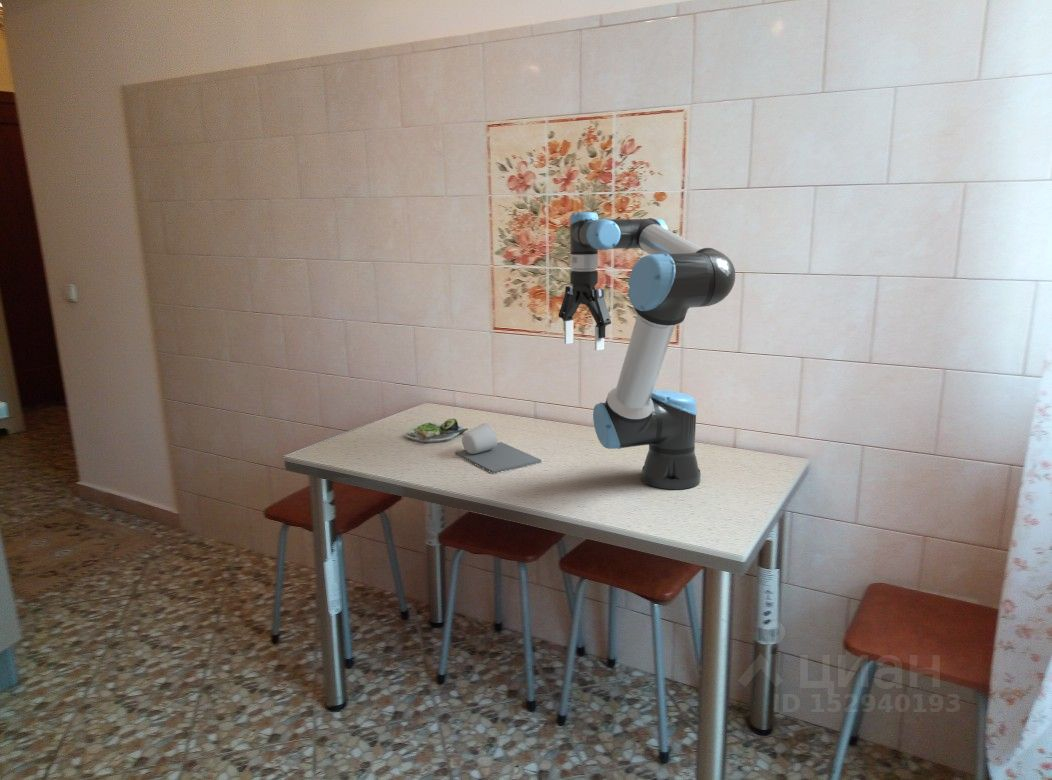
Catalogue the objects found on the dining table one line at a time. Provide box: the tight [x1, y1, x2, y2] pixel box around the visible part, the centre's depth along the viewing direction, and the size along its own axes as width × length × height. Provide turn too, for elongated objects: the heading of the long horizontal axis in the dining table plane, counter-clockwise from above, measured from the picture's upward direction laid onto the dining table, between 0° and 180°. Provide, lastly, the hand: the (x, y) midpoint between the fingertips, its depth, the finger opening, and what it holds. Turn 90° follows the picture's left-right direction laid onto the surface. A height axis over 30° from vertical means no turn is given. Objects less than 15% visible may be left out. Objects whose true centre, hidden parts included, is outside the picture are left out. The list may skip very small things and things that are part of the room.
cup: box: [461, 422, 498, 454], centre depth 214 cm, size 11×8×8 cm
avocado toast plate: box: [404, 418, 469, 444], centre depth 232 cm, size 19×18×5 cm
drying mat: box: [454, 441, 542, 474], centre depth 210 cm, size 21×16×1 cm
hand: (583, 346), depth 205 cm, fingers open, 13 cm apart
